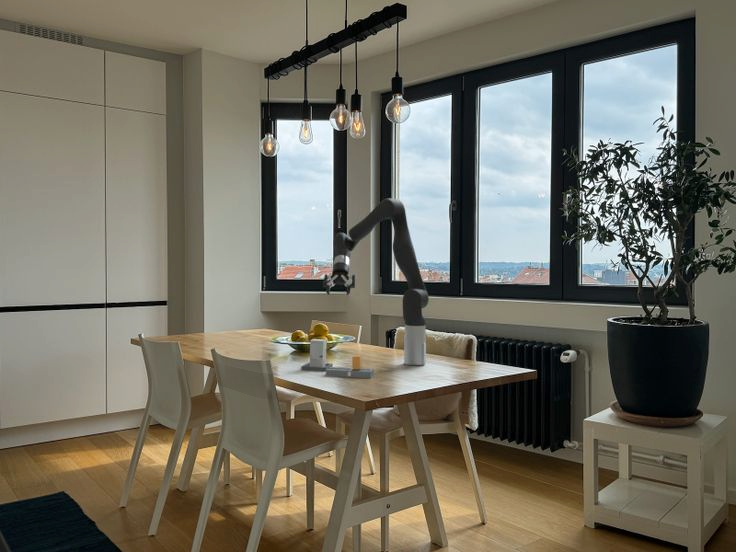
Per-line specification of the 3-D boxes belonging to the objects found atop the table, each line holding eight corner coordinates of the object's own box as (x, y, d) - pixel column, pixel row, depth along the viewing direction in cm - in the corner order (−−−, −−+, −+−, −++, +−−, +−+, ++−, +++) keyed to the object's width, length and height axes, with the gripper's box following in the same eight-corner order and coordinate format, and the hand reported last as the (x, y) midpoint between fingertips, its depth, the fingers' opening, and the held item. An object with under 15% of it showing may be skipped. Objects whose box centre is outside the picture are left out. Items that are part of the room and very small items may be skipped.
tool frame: (332, 367, 276) (332, 363, 276) (325, 371, 266) (325, 367, 265) (308, 365, 278) (308, 362, 278) (301, 370, 268) (301, 366, 268)
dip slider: (361, 367, 258) (362, 355, 257) (359, 369, 254) (359, 356, 254) (354, 367, 258) (354, 355, 258) (352, 369, 254) (352, 356, 254)
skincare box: (308, 369, 271) (309, 340, 270) (312, 367, 275) (313, 338, 274) (322, 369, 269) (323, 340, 268) (326, 368, 273) (326, 339, 273)
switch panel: (374, 375, 258) (374, 368, 258) (370, 378, 251) (370, 371, 251) (330, 372, 262) (330, 366, 262) (325, 376, 255) (325, 369, 255)
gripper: (325, 261, 296) (321, 287, 285) (356, 261, 295) (353, 288, 284) (326, 272, 302) (322, 298, 291) (357, 273, 301) (354, 299, 289)
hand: (337, 293), depth 287 cm, fingers open, 8 cm apart
